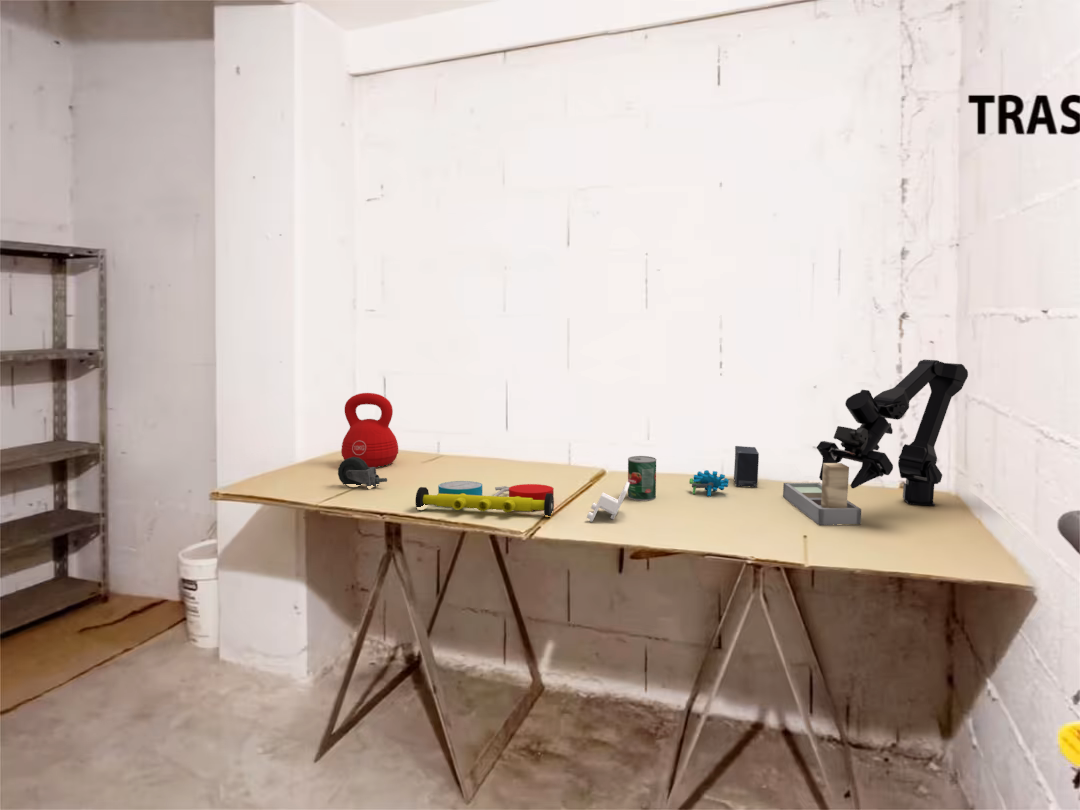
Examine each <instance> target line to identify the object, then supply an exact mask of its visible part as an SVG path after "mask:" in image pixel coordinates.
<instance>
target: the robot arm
mask: <svg viewBox="0 0 1080 810" xmlns="http://www.w3.org/2000/svg"><path fill="white" fill-rule="evenodd" d="M968 377H969V372H968V369H967V368H966V367H965V365H964V364H962V363H952V362H951V363H950V362H949V363H948V362H943V361H939V360H938V359H937V360H936V359H922V360H921V359H920V360H919V361H918V363H917V366H915V367H914V368H913V369H912V370H911V371H910V372H909V373H908V374H907V375H906V376H904V378H902V379H901V381H900V382H899V383H897V384H896V385H895V386H894V387H893V388H890V389H886V390H883V391H882V392H880V393H879V394H876V395H875V396H874V397H873V395H872V393H871V391H870V390H869V389H868V390H867V389H861V390H860V392H857V393H853V394H852V395H850V396H849V397H847V399H846V401H845V404H844V405H845V407H846V409H847V411H848V412H849V413H850V415H851V416H852V417H853V419H854V420H855V422H856V423H858V424H860V426H859V427H857V428H856V429H855V428H851V427H846V426H841V425H838V426H837V427H836V430H835V431H834V432H835V433H834V435H833V439H834V440H838V441H839V442H841V443H840V446H841V447H842V448H844V449H841V448H839V447H838V445H837V444H836V443H835V442H832V441H827V440H826V441H825V440H824V441H823V440H822V441H820V442H819V443H818V444H817V446H816V449H817V451H818V452H819V454H820V455H821V457H822V464H821V468H820V473H819V480H820V481H822V476H823V463H841V462H842V460H843V459H846V460H850V461H854V462H858V463H861V467H860V469H859V470H858V472H857V473H856V474H855V477H854V478H853V480H852V482H851V484H850V487H851V489H856V488H857V487H860V486H861V485H863V484H865V483H868V482H870V481H872V480H873V479H876V478H879V477H883V476H890V475H891V473H892V471H893V469H894V465H893V463H892V461H891V460H890V458H889V457H888V455H887V454H886V452H882V451H879V449H880V445H879V443H880V441H881V439H883V437H884V435H885V434H888V435H893V432H894V431H893V430H894V429H893V428H892V423H891V422H889V421H888V420H889V419H890V420H891V419H892V420H897V421H898V420H901V419H902V418H903V417H904V416H905V414H906V413H907V411H908V410H909V409H910V401H911V400H912V399H913V398H914V397H915V396H917V394H918V393H919V392H920V391H921V390H923V388H925V386H926V385H928V386H929V388H930V391H931V392H930V394H929V398H928V400H927V403H926V406H925V409H924V412H923V415H922V417H921V420H920V423H919V426H918V429H917V432H916V433H915V434H916V435H915V437H914V440H913V441H912V442H911V443H909V444H906V443H905V444H904V445H903V446H902V449H901V452H900V454H899V455H898V462H897V465H898V471H899V475H900V479H905V483H903V490H902V498H903V500H904V501H905V502H906V503H907V504H908V505H916V506H917V505H919V506H929V507H930V506H931V507H932V506H935V505H936V504H935V502H934V496H935V495H934V494H935V492H934V491H935V485H938V484H939V483H941V480H942V477H943V474H942V472H941V470H940V469H939V468H938V466H937V461H938V455H937V453H936V449H935V445H936V443H937V440H938V437H939V434H940V432H941V429H942V426H943V423H944V421H945V417H946V414H947V412H948V409H949V406H950V403H951V400H952V398H953V397H954V396H955V395H956V394H958V393H959V392H961V390H962V389H963V387H964V385H965V383H966V380H967V379H968ZM887 419H888V420H887Z"/></svg>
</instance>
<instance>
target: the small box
mask: <svg viewBox="0 0 1080 810" xmlns="http://www.w3.org/2000/svg"><path fill="white" fill-rule="evenodd" d="M734 449H735V450H734V452H735V453H734V466H733V467H734V469H733V470H734V472H733V480H735V481H734V485H735V484H736V485H735V487H740V486H750V487H749V488H757V487H758V478H759V463H760V462H759V460H760V459H759V456H760V454H759V452H758V450H757V448H756V447H755V446H742V445H735V446H734Z"/></svg>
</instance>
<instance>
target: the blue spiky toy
mask: <svg viewBox="0 0 1080 810" xmlns="http://www.w3.org/2000/svg"><path fill="white" fill-rule="evenodd" d="M729 482H730V480H729V479H728V477H726V475H725V474H723V473H720V474H719V476H718V471H715V470H713V471H712V473H710V471H709V470H704V471H703V472H702V471H698V472H697V473H696V474H693V478H692V477H690V478H689V481H688V484H690V485H691V487H692V493H691V494H692V495H696V489H704V491H707V495H706V497H708V496H710V497H711V495H712V492H717V491H718V489H719V490H720V491H724V490H725V488H728V487H729Z"/></svg>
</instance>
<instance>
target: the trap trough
mask: <svg viewBox="0 0 1080 810" xmlns="http://www.w3.org/2000/svg"><path fill="white" fill-rule="evenodd" d="M782 486H783V487H782V488H783V489H782V497H783V498H784V499H785V500H786V501H788V502H789V503H791V504H792V506H794V507H796V508H797V509H798V510H799V511H801V512H802V513H803V514H804V515H805V516H807V517H809V518H810V519H811V520H812V521H813V522H814V523H816V524H817V525H818V524H819V525H818V526H838V525H837V524H861V523H862V508H860V507H859V506H857V505H856V504H854V503H852V502H851V501H849V500H848V499H847V508H823V507H822V506H821V496H822V482H783V485H782ZM833 524H834V525H833Z"/></svg>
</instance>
